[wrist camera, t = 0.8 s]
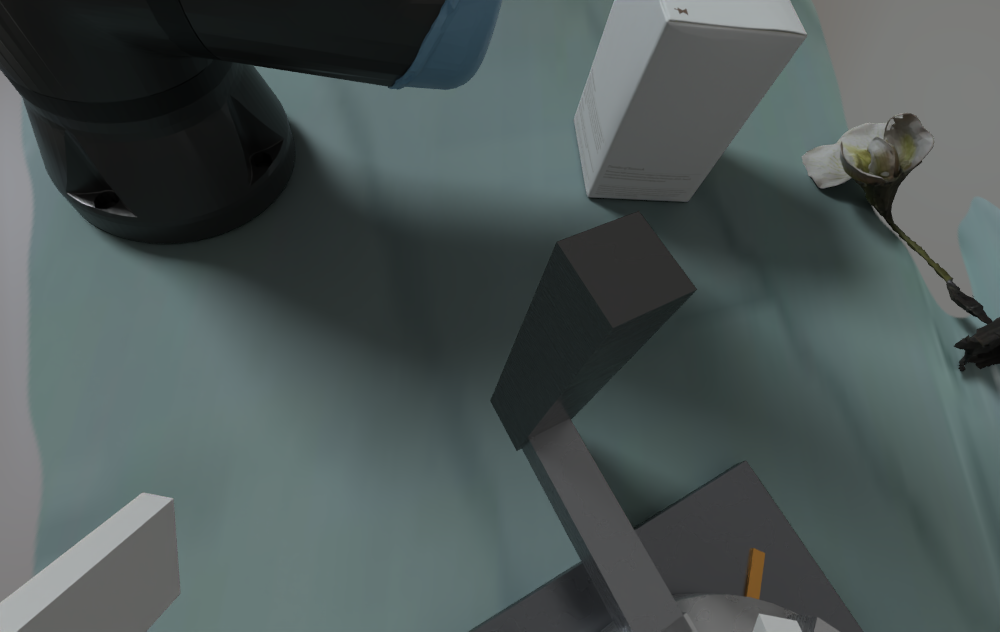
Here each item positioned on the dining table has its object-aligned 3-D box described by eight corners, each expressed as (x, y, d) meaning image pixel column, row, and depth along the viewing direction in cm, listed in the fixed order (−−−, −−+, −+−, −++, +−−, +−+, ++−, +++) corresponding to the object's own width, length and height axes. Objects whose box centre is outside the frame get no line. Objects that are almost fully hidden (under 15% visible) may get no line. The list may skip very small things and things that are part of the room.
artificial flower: (913, 389, 40) (1001, 325, 31) (775, 181, 51) (811, 93, 43) (1031, 361, 39) (1153, 288, 31) (865, 159, 51) (919, 66, 43)
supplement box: (691, 205, 43) (815, 36, 30) (585, 200, 41) (665, 21, 28) (669, 123, 47) (769, -57, 34) (571, 116, 45) (636, -75, 32)
